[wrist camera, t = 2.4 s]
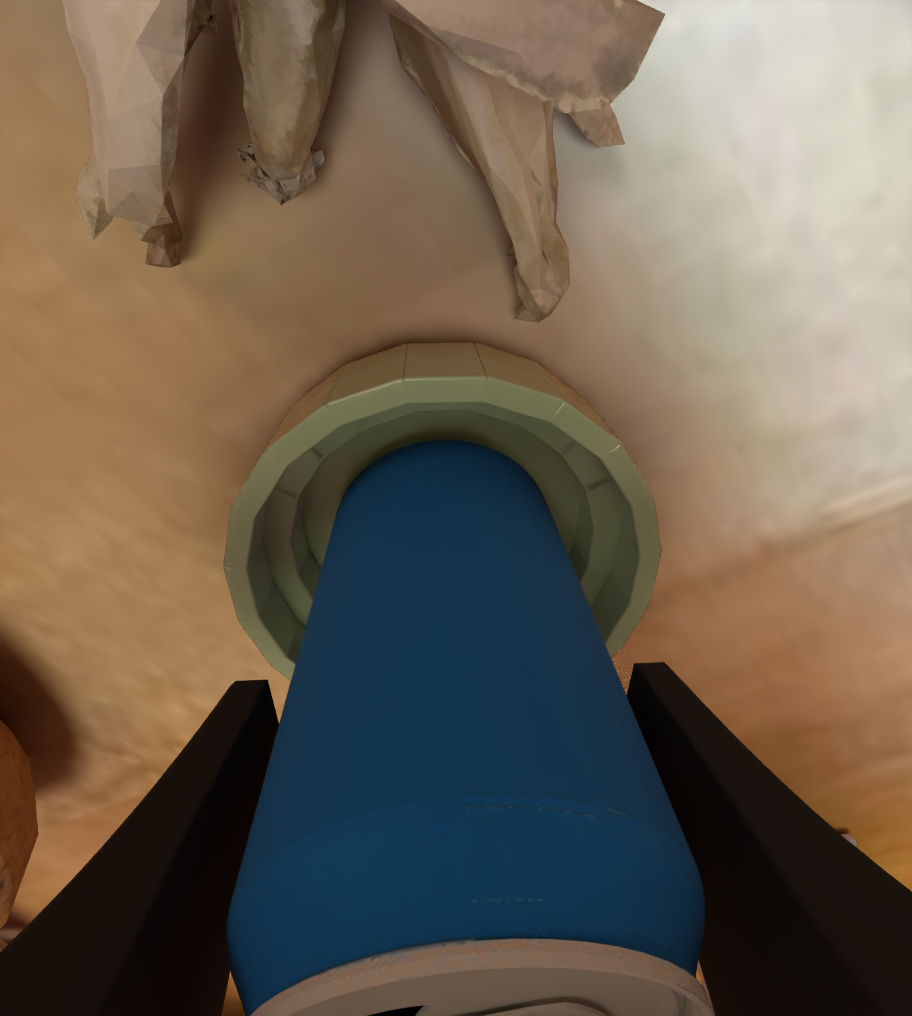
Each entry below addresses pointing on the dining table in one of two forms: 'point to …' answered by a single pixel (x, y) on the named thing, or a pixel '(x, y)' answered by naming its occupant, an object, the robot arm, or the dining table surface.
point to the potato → (14, 818)
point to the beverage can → (460, 778)
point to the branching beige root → (306, 87)
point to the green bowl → (430, 416)
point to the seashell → (3, 944)
